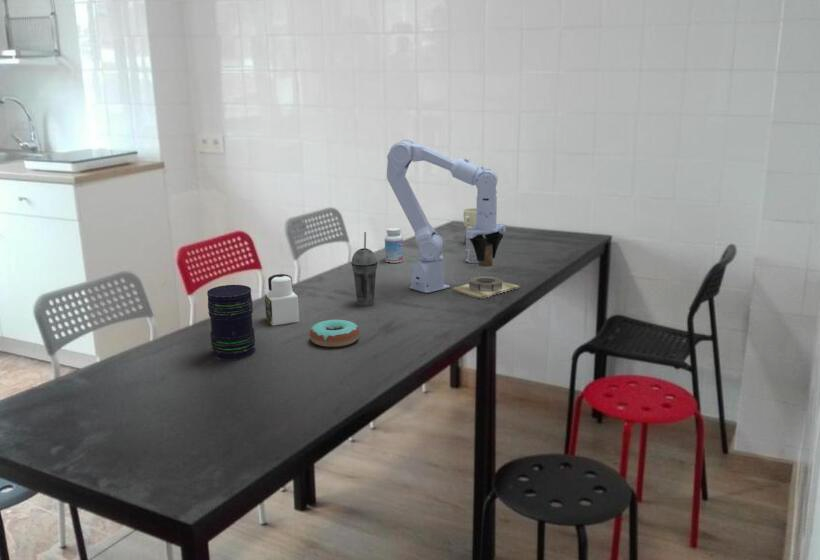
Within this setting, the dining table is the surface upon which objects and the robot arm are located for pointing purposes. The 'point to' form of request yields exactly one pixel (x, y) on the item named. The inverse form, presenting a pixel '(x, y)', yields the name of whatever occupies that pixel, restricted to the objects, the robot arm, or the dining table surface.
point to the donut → (334, 333)
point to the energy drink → (470, 248)
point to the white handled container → (281, 301)
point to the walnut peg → (487, 256)
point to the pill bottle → (393, 246)
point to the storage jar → (231, 322)
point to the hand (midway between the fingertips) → (485, 258)
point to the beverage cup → (364, 274)
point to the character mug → (469, 217)
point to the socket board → (483, 294)
